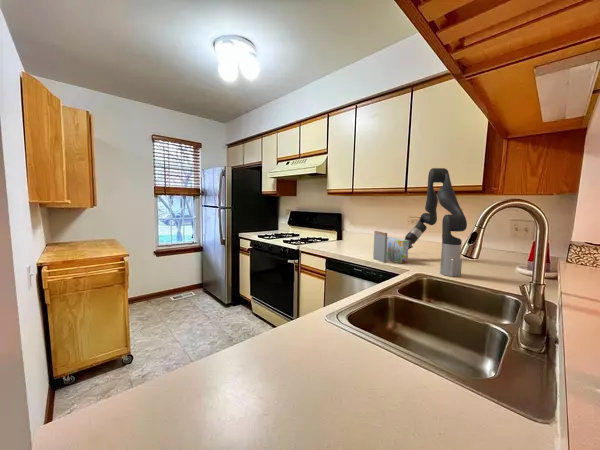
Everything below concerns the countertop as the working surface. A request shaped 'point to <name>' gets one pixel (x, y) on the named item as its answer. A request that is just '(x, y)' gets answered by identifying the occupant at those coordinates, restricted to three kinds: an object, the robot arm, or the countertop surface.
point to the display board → (380, 246)
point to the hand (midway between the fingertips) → (397, 253)
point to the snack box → (397, 250)
